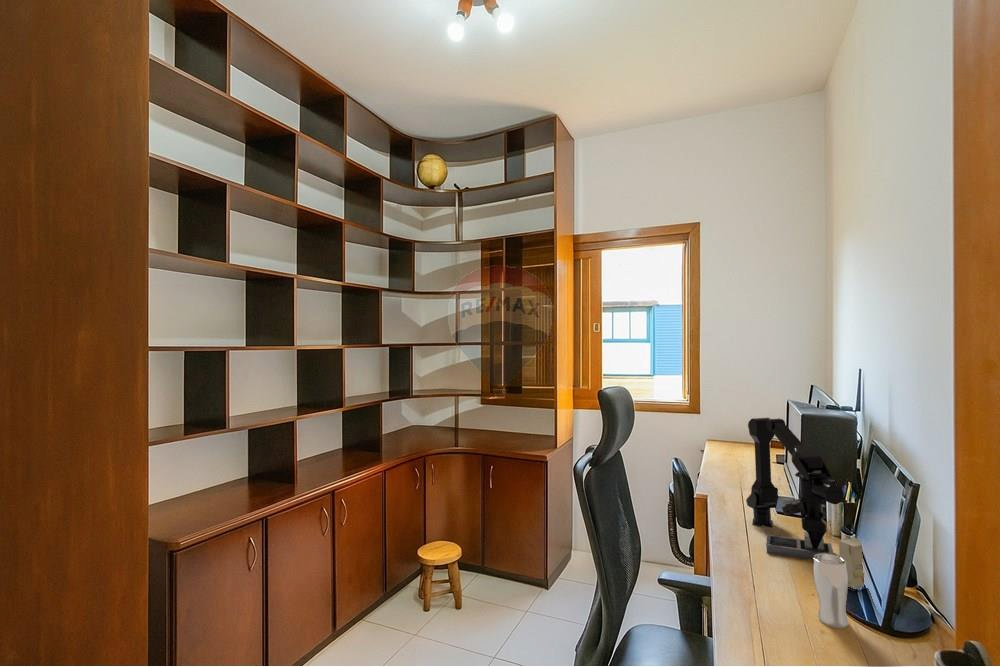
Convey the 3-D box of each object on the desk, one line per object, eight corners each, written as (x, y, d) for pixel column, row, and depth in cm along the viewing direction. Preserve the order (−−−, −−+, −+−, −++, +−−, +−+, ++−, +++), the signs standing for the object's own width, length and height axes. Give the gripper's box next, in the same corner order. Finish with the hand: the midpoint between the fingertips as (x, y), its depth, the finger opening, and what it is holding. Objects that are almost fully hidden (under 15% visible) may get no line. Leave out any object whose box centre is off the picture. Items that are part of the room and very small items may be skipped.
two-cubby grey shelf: (767, 541, 163) (767, 534, 163) (831, 551, 154) (831, 543, 154) (766, 552, 155) (766, 545, 155) (834, 563, 145) (833, 555, 145)
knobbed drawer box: (805, 550, 155) (803, 529, 156) (823, 552, 153) (822, 531, 153) (805, 556, 151) (804, 534, 151) (824, 559, 149) (823, 537, 149)
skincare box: (855, 592, 129) (852, 546, 129) (840, 584, 133) (837, 540, 134) (873, 587, 131) (870, 542, 131) (857, 580, 135) (854, 536, 135)
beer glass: (836, 612, 120) (832, 552, 121) (858, 628, 113) (854, 564, 114) (809, 614, 120) (805, 553, 120) (829, 630, 113) (825, 566, 113)
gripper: (781, 483, 165) (784, 529, 164) (781, 499, 148) (784, 550, 148) (820, 486, 159) (823, 534, 159) (824, 504, 143) (828, 557, 142)
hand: (814, 543), depth 152 cm, fingers open, 9 cm apart
